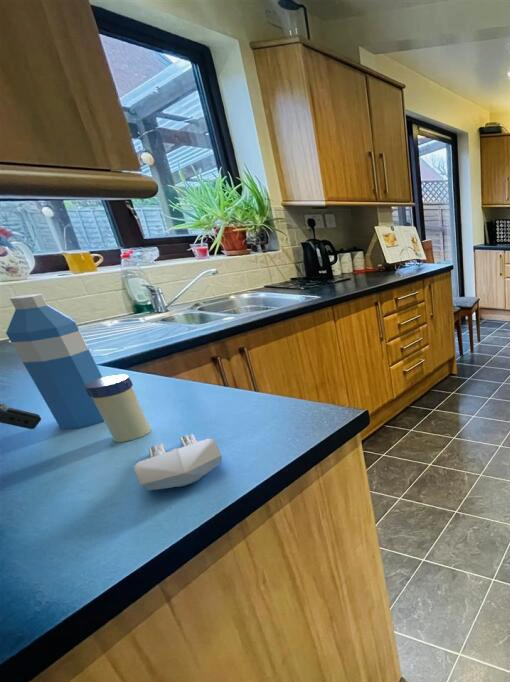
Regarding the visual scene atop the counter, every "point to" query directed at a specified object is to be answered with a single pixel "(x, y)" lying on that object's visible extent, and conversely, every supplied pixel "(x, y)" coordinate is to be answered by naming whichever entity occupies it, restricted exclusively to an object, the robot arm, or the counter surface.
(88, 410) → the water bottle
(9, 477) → the counter surface
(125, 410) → the jar
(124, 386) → the lid
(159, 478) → the white elongated knobbed piece
